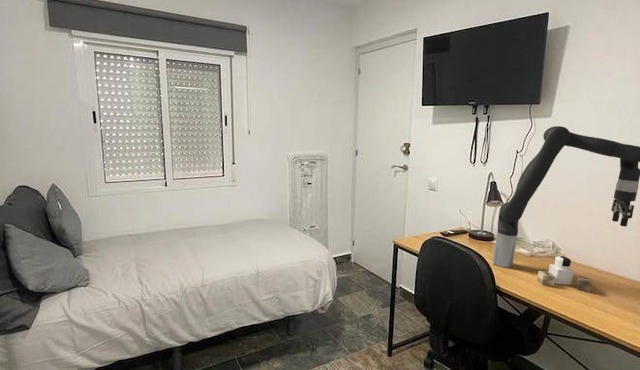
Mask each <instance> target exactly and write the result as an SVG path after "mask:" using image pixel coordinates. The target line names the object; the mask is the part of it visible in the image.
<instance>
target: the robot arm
mask: <svg viewBox="0 0 640 370" xmlns="http://www.w3.org/2000/svg"><path fill="white" fill-rule="evenodd" d="M542 136H543V140H544V143H543V145H542V146H541V148H540V149H539V151H538V153H536V155H535V156H534V157H533V158H532V160H530V161H529V162H528V164H527V165H526V166H525V168H524V170H523V172H522V173H521V175H520V177H519V179H518V182H517V183H516V184H517V185H516V187H515V191H514V193H513V195H512V197H511V199H510V200H509V201H507V202H504V203H502V204H501V206H500V207H499V211H498V217H497V218H498V220H497V232H496V239H495V243H494V245H493V246H494V247H493V253H492V254H493V255H492V259H491V260H492V264H493V265H495V266H498V267H501V268H508V269H509V268H512V267H513V264H514V261H515V260H514V259H515V253H516V248H517V247H516V246H517V241H518V234H519V220H520V219H521V218H522V217H523V214H524V212H525V210H526V208H527V205H528V203H529V201H530V200H531V198H532V197H533V196H534V195H535V193H536V191H537V190H538V188H539V187H540V185H541V184H542V182H543V181H544V179H545V177H546V176H547V174H548V172H549V171H550V168H551V167H552V165H553V162H554V161H555V160H556V158H557V156H558V155H559V154H560V152H561V151H562V150H563V148H564V147H571V148H576V149H580V150H583V151H585V152H589V153H593V154H596V155H602V156H605V157H611V158H618V159H619V167H620V170H619V174H618V179H617V181H616V185H615V189H614V194H613V195H614V196H613V198H614V199H613V202H612V206H611V211H610V212H612V217H611V218H612V219H611V221H612V222H616V223H617V222H619V220H620V224H619V226H620V227H628V221H629V219H632V218H633V214H634V209H635V205H633V204H631V202H636V200H637V195H638V190H639V184H640V183H639V182H640V168H639V163H640V146H637V145H633V144H626V143H621V142H619V141H614V140H610V139H605V138H601V137H595V136H588V135H583V134H577V133H574V132H570V130H569V129H568V128H566V127H565V126H559V125H557V126H556V125H555V126H551V127H549V128H547V129H546V130H545V131H544V133H543V135H542ZM620 214H621V217H620ZM620 218H621V219H620Z"/></svg>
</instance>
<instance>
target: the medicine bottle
mask: <svg viewBox="0 0 640 370" xmlns="http://www.w3.org/2000/svg"><path fill="white" fill-rule="evenodd" d="M554 258H555V259H554V263H549V267H548V271H547V272H551V273H552V274H553V275H554V276H555V282H554V285H555V284H556V285H565V286H566V285H567V286H571V285H572V283H573V282H572V281H573V279H574V272H575V271H574V270H573V269H572V268H571V264H572V260H571V259H570V258H569V257H567V256H562V255H558V256H555V257H554Z"/></svg>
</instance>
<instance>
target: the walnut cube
mask: <svg viewBox="0 0 640 370" xmlns="http://www.w3.org/2000/svg"><path fill="white" fill-rule="evenodd" d="M592 285H593V280H592V278H589V277H588V278H587V277H584V276H579V275H577V279H576V283H575V290H576V289H577V291H580V292H583V291H584V292H585V293H587V294H591V289H592Z"/></svg>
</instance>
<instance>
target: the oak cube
mask: <svg viewBox="0 0 640 370" xmlns="http://www.w3.org/2000/svg"><path fill="white" fill-rule="evenodd" d="M536 281H537V283H539V284H540V285H541V286H547V287H554V286H555V283H554V282H555V276H554V275H553V274H552V273H551V272H548V271H544V270H538V272H537V279H536Z"/></svg>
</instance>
